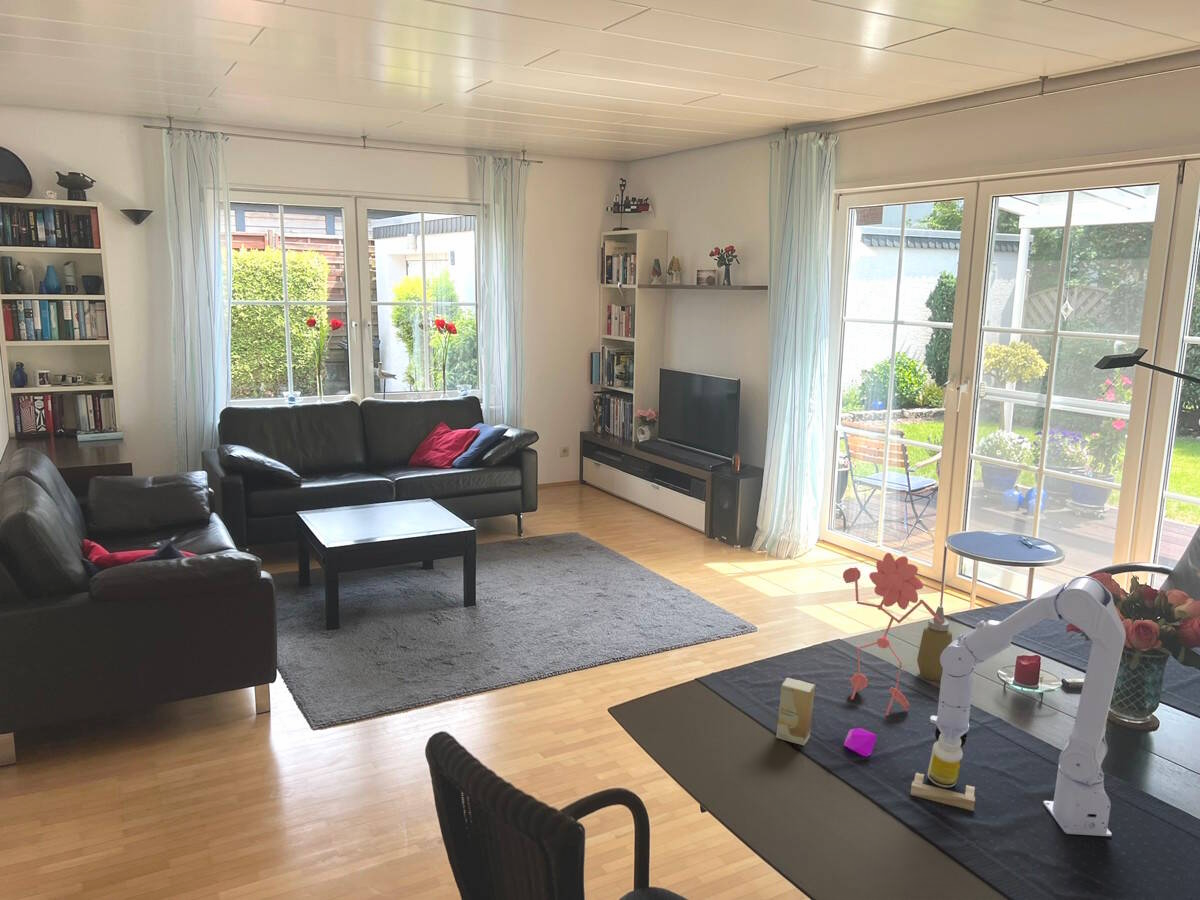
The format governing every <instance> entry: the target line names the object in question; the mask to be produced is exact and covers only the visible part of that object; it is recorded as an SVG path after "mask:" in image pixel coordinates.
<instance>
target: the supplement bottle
mask: <svg viewBox="0 0 1200 900" xmlns="http://www.w3.org/2000/svg"><path fill="white" fill-rule="evenodd" d="M945 735H946V734H945ZM961 742H962V741H961V738H960V737H959V738H958V739H957V740H956V741H955V745H952V744H948V743H945V742H944V738H943V734H942V733H941V734H940V735H939V739H938V741H937V740H936V741H935V742H934V743H933V745H932V750H931V755H930V759H929V765H928V767H927V769H928V770H927V777H928V779H929V780H930V781H931V782H932V783H933V784H934V785H936V786H938V787H940V788H952V787H954V786H955V785H956V784H957V783H958V778H959V774H960V768H961V765H962V761H963V756H964V753H963V749H962V748H960V747H961Z"/></svg>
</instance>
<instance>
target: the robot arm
mask: <svg viewBox="0 0 1200 900" xmlns="http://www.w3.org/2000/svg"><path fill="white" fill-rule="evenodd" d="M1066 585H1067V587H1066ZM1065 587H1066V588H1065ZM1045 619H1049V620H1053V621H1057V622H1061V620H1063V619H1064V620H1065V621H1067V622H1069V623H1070V624H1071V625H1073V626H1075V627H1076V628H1077V629H1079V630H1081V631H1082V632H1083V633H1084V634H1085V635H1086V636H1087V637H1088V638H1089V639H1090V641H1091V642H1092V643H1091V646H1090V647H1091V648H1090V652H1089V657H1088V662H1087V665H1086V671H1085V676H1084V680H1083V683H1082V687H1081V692H1080V698H1079V701H1078V706H1077V710H1076V716H1075V720H1074V724H1073V727H1072V729H1071V733H1070V735H1069V737H1068V740H1067V743H1066V744H1065V746H1064V748H1063V749H1062V751H1060V754H1059V755H1058V756H1059V757H1058V768H1057V776H1056V782H1055V789H1054V796H1053V800H1043V805H1044V806H1045V808H1046V809H1047V810H1048V812H1049V813H1050V814H1051V816H1052V817H1053V819H1054V820H1055V821H1056V823H1057V824H1058V825H1059V827H1060V828H1061V829H1062V831H1063V832H1064V833H1065V834H1066V835H1067V834H1068V835H1082V836H1096V837H1097V836H1099V837H1112V836H1113V835H1112V832H1111V831H1110V830H1109V828H1108V826H1109V820H1110V812H1111V805H1112V804H1111V803H1112V802H1111V800H1110V798H1109V796H1108V794H1107V793H1106V789H1105V787H1104V783H1105V781H1104V779H1105V773H1104V772H1103V771H1104V770H1103V768H1102V763H1103V761H1104V759H1105V757H1106V756H1107V754H1108V744H1107V742H1106V730H1107V728H1106V727H1107V725H1106V724H1107V720H1108V716H1109V711H1110V709H1111V708H1110V707H1111V702H1112V699H1113V694H1114V690H1115V686H1116V682H1117V678H1118V677H1117V676H1118V674H1119V673H1118V672H1119V668H1120V663H1121V661H1122V656H1123V650H1124V645H1125V643H1126V638H1127V632H1126V629H1125V626H1124V623H1123V622H1122V619H1121V617H1120V615H1119V612H1118V610H1117V608H1116V605H1115V602H1114V598H1113V594H1112V593H1111V592H1110V591H1109V590H1108V589H1107V588H1106V586H1105V585H1104V584H1103V583H1101V582H1100V581H1099V580H1098V579H1096V578H1095V577H1093V576H1087V575H1081V576H1080V575H1079V576H1077V577H1075V578H1073V579H1071V580H1070V582H1069V583H1068V584H1067V583H1066V582H1065V583H1062V584H1060V585H1058V586H1056V587H1054V588H1052V589H1049V591H1047V592H1044V593H1043V594H1041V595H1040V596H1038V597H1037V598H1035V599H1033V600H1032V601H1030V602H1029V603H1027V604H1026V605H1024V606H1023V607H1021V608H1020V609H1018V610H1017V611H1015V612H1013V613H1012V614H1011V615H1009V616H1008V617H1006V618H1005V619H1003V620H1001V621H999V620H994V619H988V620H986V621H985V620H984V619H982V620H981V621H978V622H977V624H975V626H976V628H974V629H972V630H970V631H969V632H967V633H966V634H965V635H964V634H962V633H961V634H960V635H958V636H957V637H956V639H955V640H952V642H951V643H950V644H949V645H948V646H947V647H946V648H945V649H944V650H943V652H942V653H941V656H940V663H941V666H942V668H943V672H942V677H941V681H940V686H939V698H938V704H937V705H938V706H937V714H936V715H930V718H929V719H930V720H929V722H930V723H932V724H934V725H936V728H935V731H934V735H935V736H934V737H935V739H936V741H938V739H939V735H940V734H941V733H942V734H943V738H944V742H945V743H948V744H952V745H955V741H956V740H957V739H958V738H959V737H960V738H961V741H962V742H961V747H960V748H961V749H962V748H963V746H964V745H965V744H966V742H967V737H968V731H969V729H970V723H969V722H970V721H969V720H970V713H971V705H972V696H973V687H974V672H975V668H974V667H975V666H977V664H983V663H984V662H985V661H988V660H989V659H991V658H993V657H994V656H996V655H997V654H1000V653H1001V652H1003V651H1005V650H1006V649H1009V648H1010V647H1011V644H1012V637H1014V636H1015V635H1018V634H1019V633H1021V632H1023V631H1025V630H1027V629H1029V628H1031V627H1033V626H1034V625H1037V624H1038V623H1039V622H1041V621H1044V620H1045ZM945 734H946V735H945Z"/></svg>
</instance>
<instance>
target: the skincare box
mask: <svg viewBox="0 0 1200 900" xmlns="http://www.w3.org/2000/svg"><path fill="white" fill-rule="evenodd" d="M780 687H781V688H780V697H779V706H778V715H777V716H778V717H777V725H776V726H777V728H776V739H779V740H783V741H786V742H790V743H794V744H798V745H800V746H806V744H807V742H808V740H809V739H810V736H811V727H812V717H813V708H814V701H815V690H816V684H815V683H814V684H813V683H809V682H807V681H803V680H799V679H794V678H790V677H786V678H785V679H784V681H783V682H782V684H781V686H780Z"/></svg>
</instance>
